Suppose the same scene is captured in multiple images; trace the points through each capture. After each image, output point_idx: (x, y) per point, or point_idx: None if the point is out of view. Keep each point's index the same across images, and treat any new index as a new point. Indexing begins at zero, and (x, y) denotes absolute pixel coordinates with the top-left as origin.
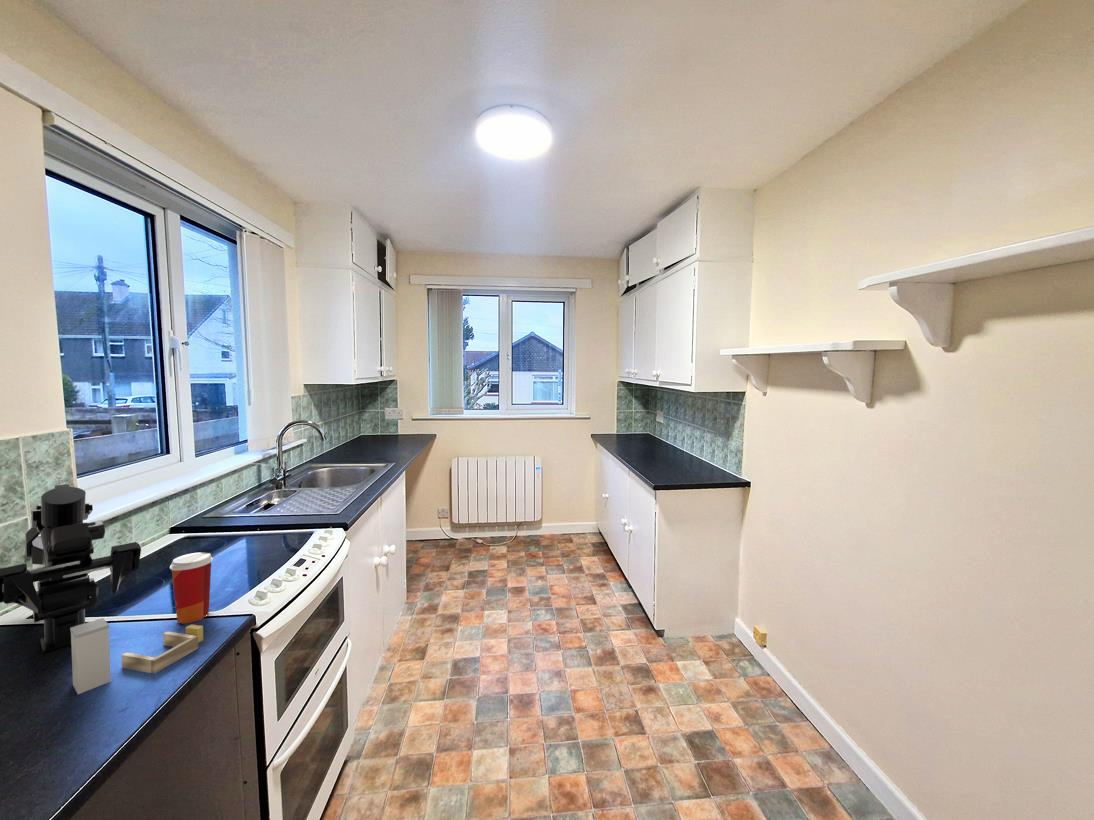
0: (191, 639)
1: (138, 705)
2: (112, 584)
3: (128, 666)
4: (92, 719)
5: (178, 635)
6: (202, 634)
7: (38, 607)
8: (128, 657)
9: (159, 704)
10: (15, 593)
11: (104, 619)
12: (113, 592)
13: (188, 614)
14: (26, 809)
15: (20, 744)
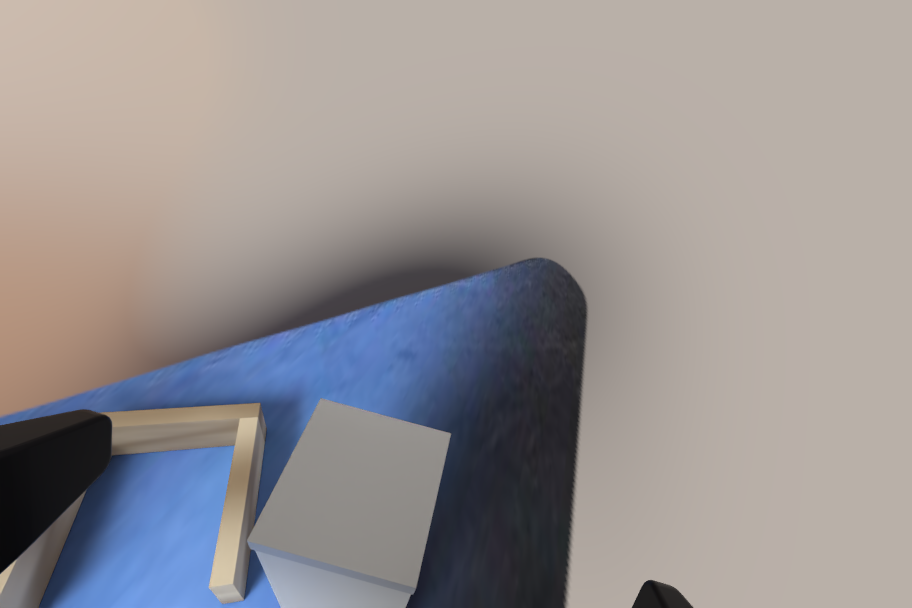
0: None
1: (386, 341)
2: (13, 463)
3: (248, 553)
4: (453, 382)
5: None
6: None
7: (679, 594)
8: (241, 536)
9: (369, 308)
10: None
11: (269, 498)
12: (102, 457)
13: None
14: (574, 280)
15: (561, 436)
